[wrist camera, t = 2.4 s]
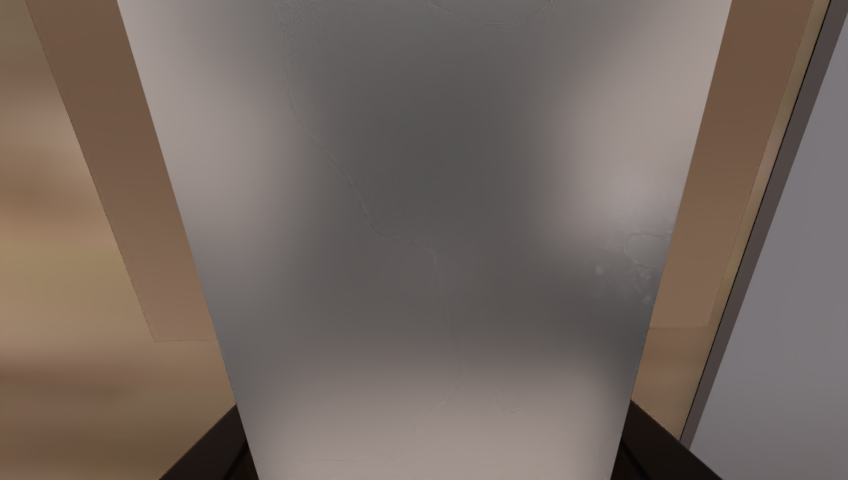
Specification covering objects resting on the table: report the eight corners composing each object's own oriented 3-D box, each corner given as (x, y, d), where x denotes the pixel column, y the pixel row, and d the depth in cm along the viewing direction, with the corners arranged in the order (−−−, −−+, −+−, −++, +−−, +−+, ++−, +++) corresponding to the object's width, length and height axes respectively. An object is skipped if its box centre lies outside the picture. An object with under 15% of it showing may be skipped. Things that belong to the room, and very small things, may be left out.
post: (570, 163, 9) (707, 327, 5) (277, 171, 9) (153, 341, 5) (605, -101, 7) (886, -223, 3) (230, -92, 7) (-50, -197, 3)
